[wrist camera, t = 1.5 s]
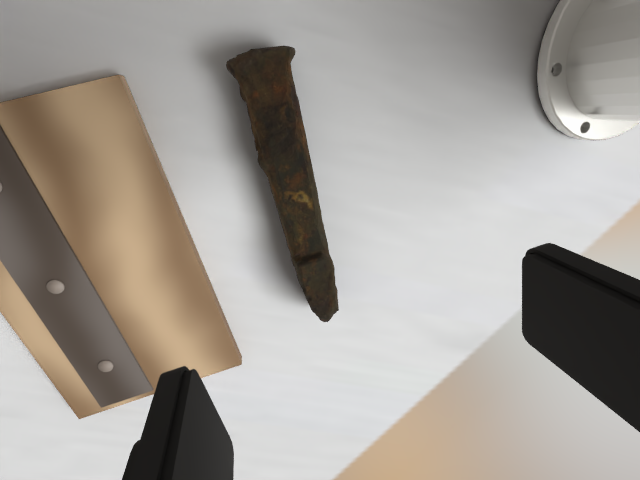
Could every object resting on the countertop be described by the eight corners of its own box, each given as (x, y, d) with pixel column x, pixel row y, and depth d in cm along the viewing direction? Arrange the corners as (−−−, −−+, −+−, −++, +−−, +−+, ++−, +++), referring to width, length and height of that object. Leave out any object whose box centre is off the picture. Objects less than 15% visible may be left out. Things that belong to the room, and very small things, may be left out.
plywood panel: (124, 76, 20) (116, 74, 19) (241, 356, 29) (241, 366, 28) (-113, 132, 19) (-137, 133, 18) (84, 408, 28) (77, 422, 26)
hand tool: (226, 60, 21) (221, 48, 17) (289, 50, 22) (299, 35, 18) (287, 310, 29) (294, 345, 24) (333, 298, 29) (347, 331, 25)
